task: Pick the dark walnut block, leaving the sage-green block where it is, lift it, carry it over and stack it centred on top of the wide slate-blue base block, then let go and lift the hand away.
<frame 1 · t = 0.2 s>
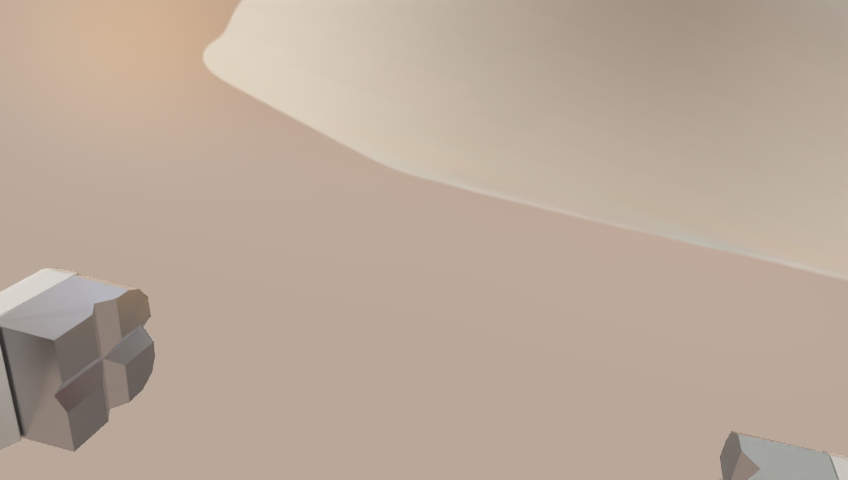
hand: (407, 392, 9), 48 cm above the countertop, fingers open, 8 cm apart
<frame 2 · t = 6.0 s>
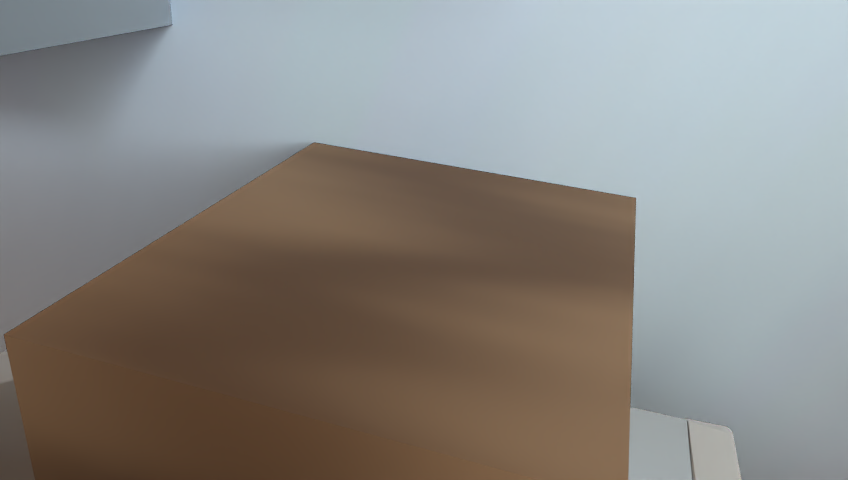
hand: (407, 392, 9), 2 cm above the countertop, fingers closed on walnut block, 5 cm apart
walnut block: (450, 310, 11), on the countertop, touching gripper
when the fingers open (8 cm above the countertop, at t = 13.4 s): walnut block drops 2 cm, point 3 cm above the countertop.
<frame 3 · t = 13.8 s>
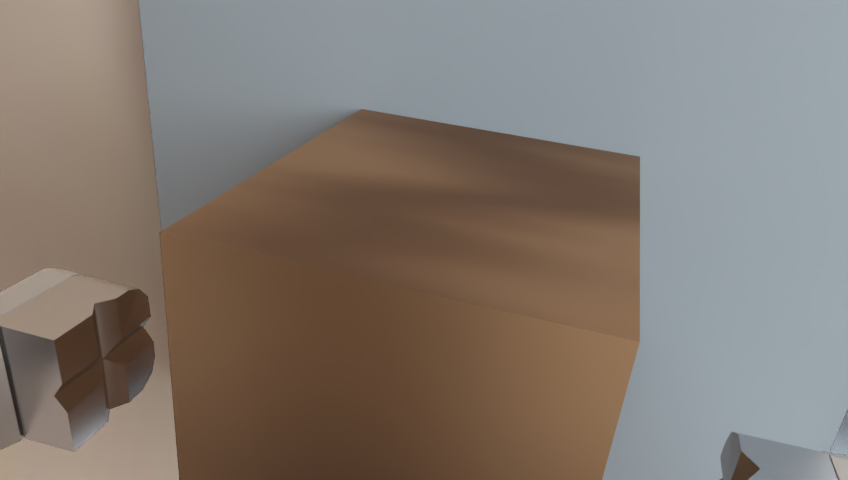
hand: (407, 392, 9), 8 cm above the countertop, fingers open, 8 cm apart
walnut block: (476, 257, 13), point 3 cm above the countertop
slate base block: (509, 193, 17), on the countertop
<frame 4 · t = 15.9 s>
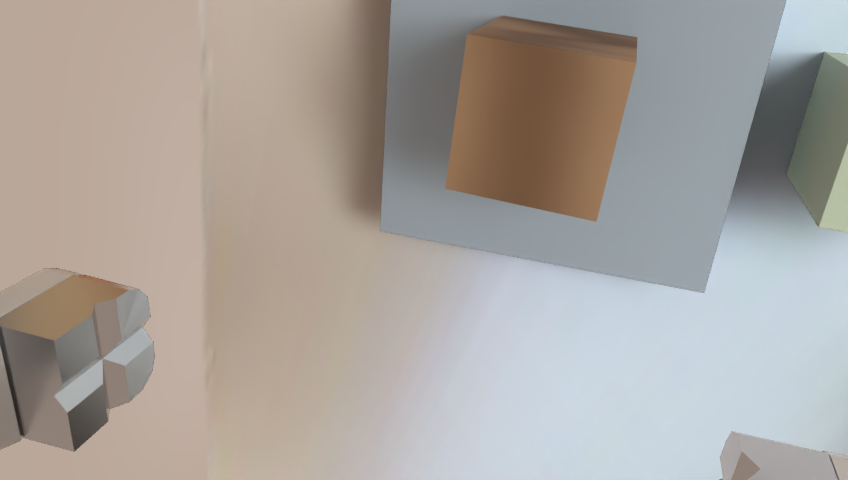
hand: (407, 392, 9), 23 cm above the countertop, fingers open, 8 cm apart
walnut block: (555, 92, 26), point 3 cm above the countertop, touching slate base block
slate base block: (568, 80, 30), on the countertop, touching walnut block
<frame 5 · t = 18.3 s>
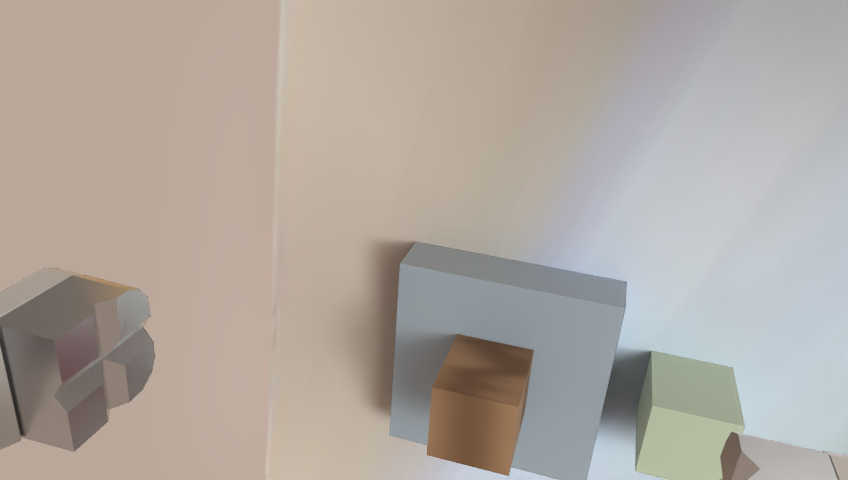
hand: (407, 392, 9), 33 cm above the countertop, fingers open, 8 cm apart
walnut block: (491, 373, 45), point 3 cm above the countertop, touching slate base block
sage block: (682, 389, 45), on the countertop
slate base block: (506, 346, 48), on the countertop, touching walnut block
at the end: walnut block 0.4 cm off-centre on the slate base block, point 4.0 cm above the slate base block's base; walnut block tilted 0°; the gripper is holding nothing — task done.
